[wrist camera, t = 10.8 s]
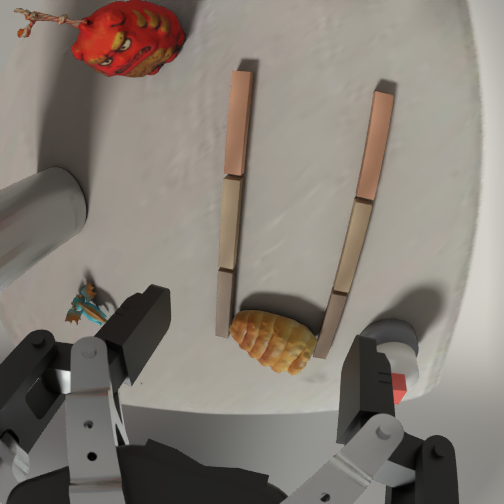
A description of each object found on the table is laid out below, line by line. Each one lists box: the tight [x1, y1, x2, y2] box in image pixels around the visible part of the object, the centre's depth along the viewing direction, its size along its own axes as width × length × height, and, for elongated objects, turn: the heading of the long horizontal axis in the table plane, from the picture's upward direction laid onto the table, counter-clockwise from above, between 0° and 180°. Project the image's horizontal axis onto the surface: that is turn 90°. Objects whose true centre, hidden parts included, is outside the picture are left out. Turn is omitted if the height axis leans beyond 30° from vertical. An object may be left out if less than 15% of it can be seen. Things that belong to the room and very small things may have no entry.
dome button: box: [377, 342, 419, 404], centre depth 29 cm, size 6×6×5 cm
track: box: [216, 71, 394, 359], centre depth 29 cm, size 13×28×1 cm, turn 174°
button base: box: [360, 319, 419, 357], centre depth 33 cm, size 7×7×2 cm
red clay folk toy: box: [14, 0, 185, 78], centre depth 18 cm, size 8×7×15 cm
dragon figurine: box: [65, 282, 107, 325], centre depth 40 cm, size 6×7×8 cm
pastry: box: [229, 310, 317, 375], centre depth 34 cm, size 9×7×4 cm
